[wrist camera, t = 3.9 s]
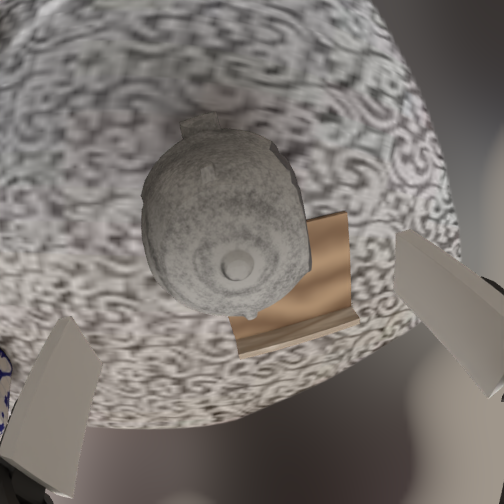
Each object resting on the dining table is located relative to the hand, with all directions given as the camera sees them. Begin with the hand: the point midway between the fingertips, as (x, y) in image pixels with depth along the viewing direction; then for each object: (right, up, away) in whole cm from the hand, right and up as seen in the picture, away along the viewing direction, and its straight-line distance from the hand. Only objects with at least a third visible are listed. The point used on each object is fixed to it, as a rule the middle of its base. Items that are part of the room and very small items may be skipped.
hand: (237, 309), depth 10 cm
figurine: (-5, +12, +24) cm, 27 cm away
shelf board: (+6, -2, +33) cm, 33 cm away
